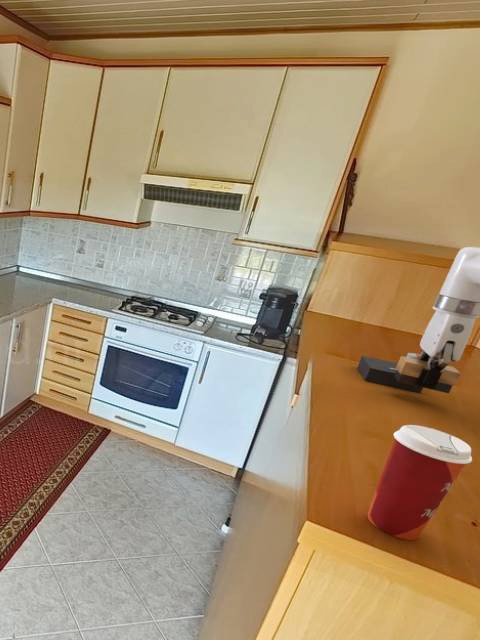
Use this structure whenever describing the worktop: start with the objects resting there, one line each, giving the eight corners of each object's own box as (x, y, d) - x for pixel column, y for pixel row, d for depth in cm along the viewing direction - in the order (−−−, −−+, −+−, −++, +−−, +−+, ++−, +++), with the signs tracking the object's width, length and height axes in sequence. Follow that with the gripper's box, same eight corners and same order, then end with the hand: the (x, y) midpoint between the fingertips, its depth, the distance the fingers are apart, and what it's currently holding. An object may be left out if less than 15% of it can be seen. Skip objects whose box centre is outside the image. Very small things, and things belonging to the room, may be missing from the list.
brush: (444, 387, 111) (454, 367, 109) (450, 393, 107) (461, 373, 106) (392, 375, 115) (400, 356, 113) (396, 381, 112) (405, 361, 110)
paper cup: (439, 553, 63) (491, 460, 58) (369, 534, 65) (413, 443, 60) (412, 516, 69) (456, 431, 64) (349, 500, 72) (387, 417, 67)
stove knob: (398, 368, 122) (406, 350, 120) (417, 372, 120) (425, 354, 118) (402, 372, 119) (410, 354, 117) (420, 376, 117) (429, 358, 116)
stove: (415, 380, 125) (421, 367, 124) (428, 395, 116) (435, 381, 115) (357, 367, 131) (362, 355, 129) (365, 381, 121) (370, 367, 120)
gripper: (497, 318, 96) (455, 401, 103) (466, 302, 110) (431, 376, 117) (448, 310, 99) (410, 390, 106) (424, 295, 113) (392, 367, 120)
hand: (421, 382), depth 111 cm, fingers closed on brush, 4 cm apart
